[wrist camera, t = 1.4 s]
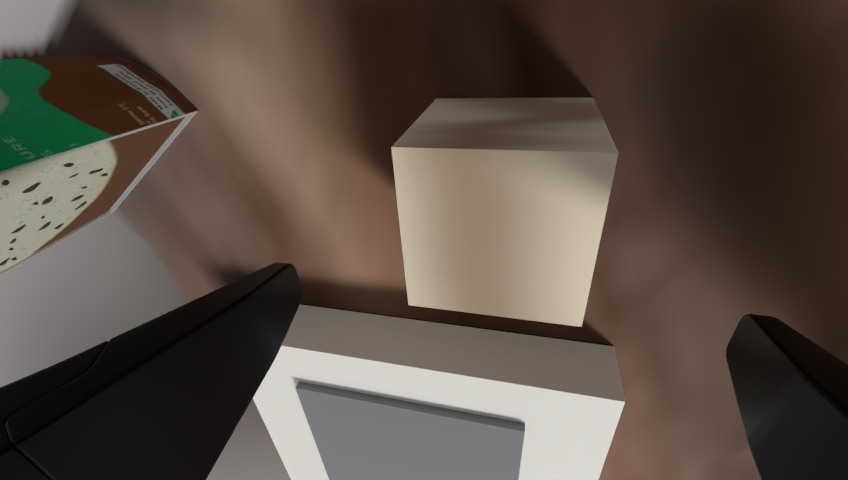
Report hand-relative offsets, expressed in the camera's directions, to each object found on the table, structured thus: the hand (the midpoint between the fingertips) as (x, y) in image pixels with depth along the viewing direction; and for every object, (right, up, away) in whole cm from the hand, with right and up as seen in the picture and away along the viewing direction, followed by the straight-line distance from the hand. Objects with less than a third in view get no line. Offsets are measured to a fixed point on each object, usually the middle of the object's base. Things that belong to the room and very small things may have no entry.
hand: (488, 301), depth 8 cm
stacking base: (-1, -9, +15) cm, 18 cm away
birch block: (+2, +4, +6) cm, 7 cm away
